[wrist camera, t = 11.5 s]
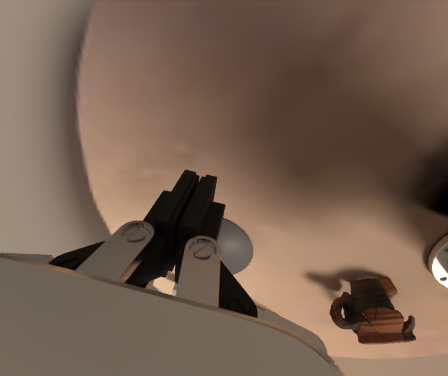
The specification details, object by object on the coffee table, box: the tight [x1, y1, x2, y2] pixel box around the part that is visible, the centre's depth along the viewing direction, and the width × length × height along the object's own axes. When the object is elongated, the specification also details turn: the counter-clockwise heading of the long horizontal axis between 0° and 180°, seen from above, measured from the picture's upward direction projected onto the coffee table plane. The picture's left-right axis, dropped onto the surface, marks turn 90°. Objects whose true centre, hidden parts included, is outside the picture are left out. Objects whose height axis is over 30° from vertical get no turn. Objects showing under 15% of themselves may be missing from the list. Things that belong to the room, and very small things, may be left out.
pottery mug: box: [330, 278, 416, 344], centre depth 38 cm, size 12×10×8 cm
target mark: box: [217, 218, 253, 275], centre depth 39 cm, size 13×13×1 cm
